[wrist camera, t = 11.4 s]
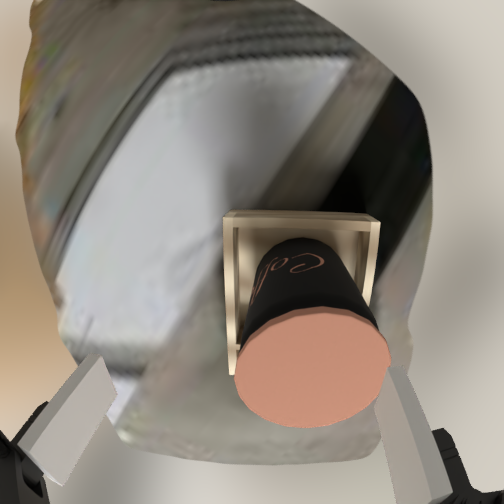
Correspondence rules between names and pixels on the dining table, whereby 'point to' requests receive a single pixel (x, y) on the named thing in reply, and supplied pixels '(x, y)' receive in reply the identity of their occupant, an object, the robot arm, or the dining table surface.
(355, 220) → the walled box
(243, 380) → the coffee jar
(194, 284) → the dining table surface
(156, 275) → the dining table surface
